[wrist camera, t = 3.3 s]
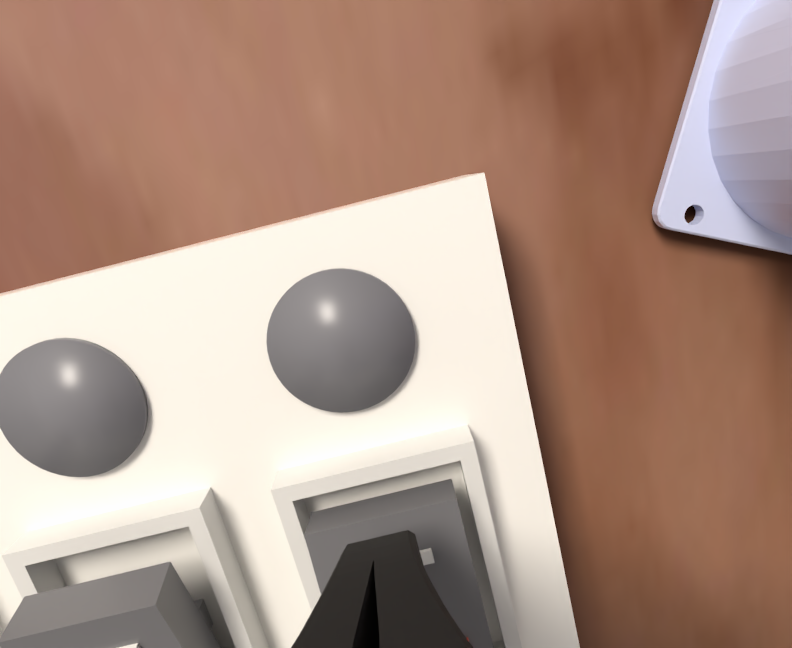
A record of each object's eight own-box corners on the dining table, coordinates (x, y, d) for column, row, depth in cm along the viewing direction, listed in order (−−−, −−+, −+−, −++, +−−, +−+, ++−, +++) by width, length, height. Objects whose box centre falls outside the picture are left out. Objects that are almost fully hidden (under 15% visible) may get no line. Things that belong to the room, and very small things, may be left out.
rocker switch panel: (463, 175, 15) (492, 171, 11) (547, 575, 18) (592, 677, 14) (-268, 361, 16) (-473, 417, 12) (-64, 719, 19) (-175, 854, 15)
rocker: (451, 478, 13) (457, 500, 12) (500, 674, 14) (510, 715, 13) (311, 512, 13) (303, 537, 12) (366, 706, 14) (363, 748, 13)
